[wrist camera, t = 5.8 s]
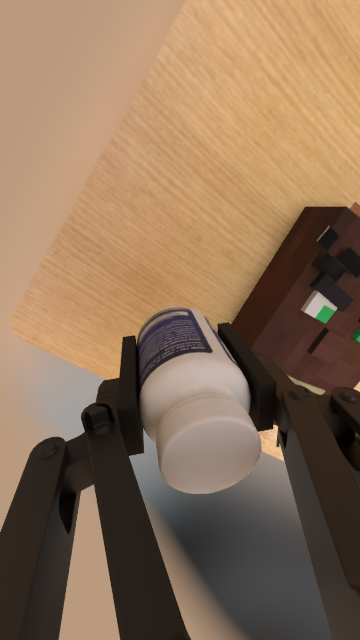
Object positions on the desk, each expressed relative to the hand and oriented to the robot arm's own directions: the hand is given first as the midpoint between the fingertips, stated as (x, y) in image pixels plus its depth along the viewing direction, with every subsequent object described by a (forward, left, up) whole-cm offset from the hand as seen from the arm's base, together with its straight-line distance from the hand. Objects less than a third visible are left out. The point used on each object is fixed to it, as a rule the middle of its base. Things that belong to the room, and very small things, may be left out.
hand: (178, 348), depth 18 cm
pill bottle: (0, 0, -2) cm, 2 cm away
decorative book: (+8, +19, -17) cm, 26 cm away
